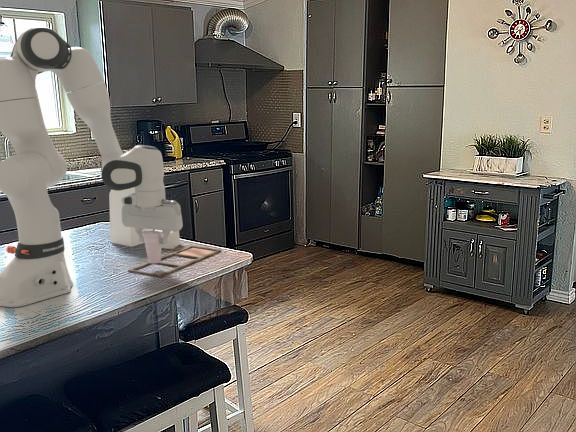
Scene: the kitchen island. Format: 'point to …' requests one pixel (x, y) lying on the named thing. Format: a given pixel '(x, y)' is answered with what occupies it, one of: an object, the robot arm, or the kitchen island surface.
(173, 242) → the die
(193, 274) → the kitchen island surface
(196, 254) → the board
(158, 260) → the smoothie
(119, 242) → the milk
